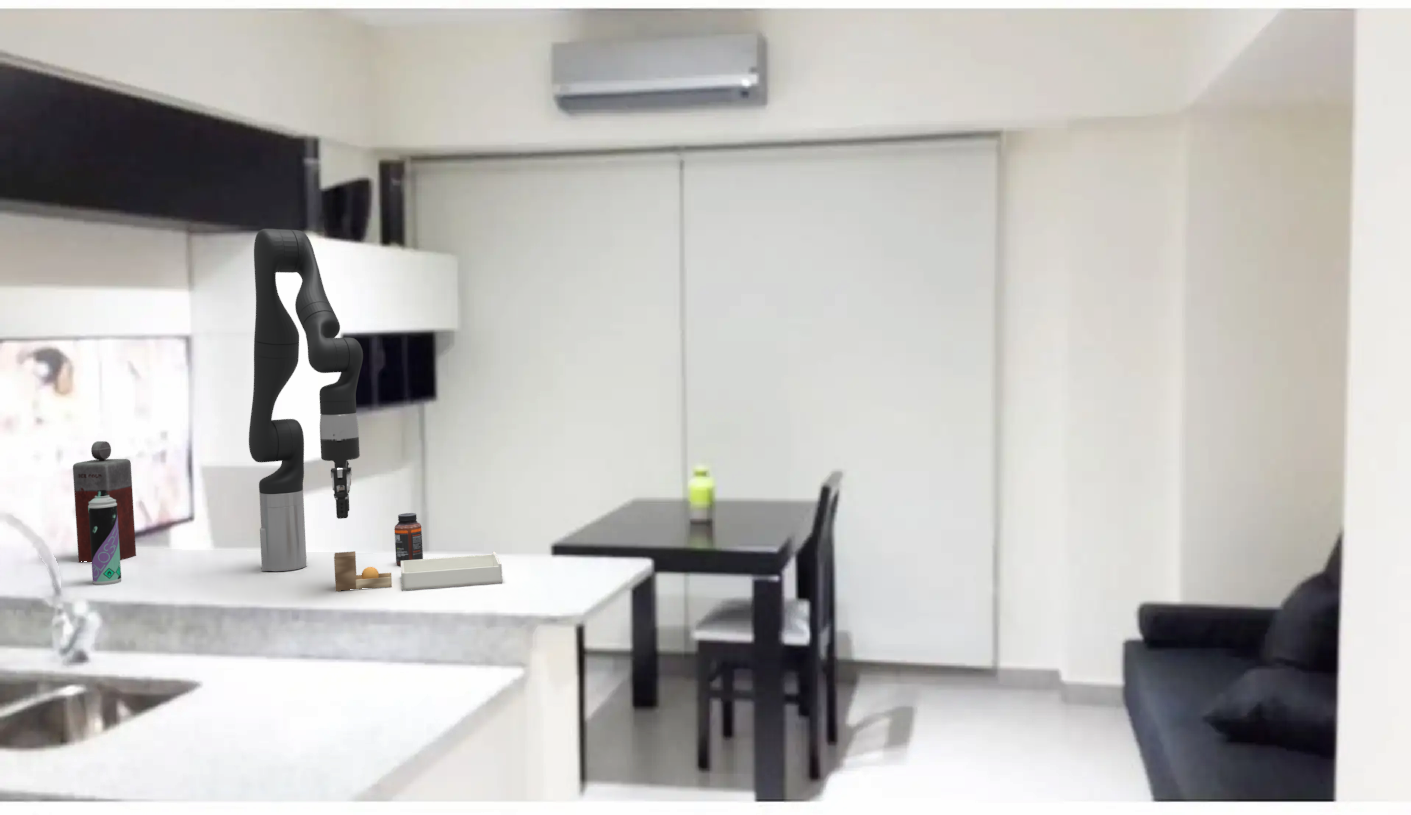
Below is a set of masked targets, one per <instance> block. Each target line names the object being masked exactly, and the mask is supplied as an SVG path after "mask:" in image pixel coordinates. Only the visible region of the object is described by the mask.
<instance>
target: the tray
mask: <svg viewBox="0 0 1411 815" xmlns="http://www.w3.org/2000/svg"><path fill="white" fill-rule="evenodd" d="M502 570H503V569H502V562H501V560H500V558H499V556H498V554H497V552H496V551H492V553H490V554H479V555H475V554H474V555H461V556H452V557H451V556H450V557H449V556H447V557H437V558H436V557H435V558H434V557H433V558H423V559H419V560H404V561H401V566H400V575H401V576H400V578H401V591H402V592H404V591H403V590H406V591H412V590H411V589H419V590H426V589H425V588H432V589H443V588H455V587H456V588H457V587H468V586H469V587H471V586H481V585H483V586H484V585H493V584H494V585H495V584H503V571H502Z"/></svg>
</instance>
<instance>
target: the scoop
mask: <svg viewBox="0 0 1411 815" xmlns="http://www.w3.org/2000/svg"><path fill="white" fill-rule="evenodd" d="M356 560H357V558H356V551H342V552H341V551H339V552H334V556H333V562H334V581H335V584H334V585H335V586H334V587H335V592H342V591H341V590H346V591H351V590H350V589H359V590H363V589H362V588H372V589H381V588H380V587H385V588H392V584H393V582H392V572H382V573H379V572H378V573H379V577H378V578H371V579H362V574H357V561H356Z"/></svg>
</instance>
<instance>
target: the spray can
mask: <svg viewBox="0 0 1411 815" xmlns="http://www.w3.org/2000/svg"><path fill="white" fill-rule="evenodd" d="M88 511H89V527H90V544H91V560H92V563H91V571H92V572H91V573H92V574H91V575H92V584H93V585H94V584H95V585H94V586H104V585H105V586H106V585H113V584H118V583H121V581H122V568H121V560H120V549H119V532H118V515H117V503H116V500H115V499H113V498H111V497H109V495H108V494H107V492H106V490H97V494H96V496H95V498H94V499H92V500H91V501H89V505H88Z"/></svg>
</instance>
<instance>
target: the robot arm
mask: <svg viewBox="0 0 1411 815" xmlns="http://www.w3.org/2000/svg"><path fill="white" fill-rule="evenodd" d="M253 261H254V262H253V265H254V266H253V267H254V268H253V269H254V281H255V282H254V283H255V323H254V340H253V391H252V392H253V393H252V404H251V412H250V419H249V420H250V422H249V427H248V428H249V429H248V430H249V431H248V449H249V453H250V456H251V458H252V459H253V460H254V461H255V462H256V463H273V462H274V463H275V462H281V464H280V466H279V467H278V469H277V470H276V471H274V472H272V473H271V474H269V475H267V476H264V477H263V478H262V479H260V480H259V482H258V492H259V512H260V513H259V514H260V515H259V516H260V528H259V537H260V540H259V541H260V558H261V572H283V571H284V572H287V571H293V570H300V569H303V568H305V567H307V566H308V565H307V546H306V543H307V542H306V526H305V522H306V521H305V502H304V499H305V498H304V477H305V465H304V464H305V456H304V455H305V454H304V453H305V440H304V438H305V437H304V431H303V428H302V425H301V423H300V421H298V420H297V419H295V418H283V419H282V418H281V419H272V418H273V412H274V408H275V404H276V402H277V400H278V397H279V395H280V394H281V393H282V390H283V389H284V388H285V386H286V385H287V383H288V382H289V380H290V379H291V377H292V376H293V374H294V372H295V371H296V369H297V367H298V364H299V357H300V355H299V354H300V334H299V329H298V327H297V325H296V324H295V323H296V322H295V321H294V319H293V318H292V317H291V315H290V313H289V312H288V311H287V308H286V307H285V306H284V304H283V301H282V299H281V298H280V295H279V293H278V288H277V278H276V274H277V273H287V274H289V273H291V274H292V273H293V274H294V273H297V274H298V275H299V276H300V277H301V285H300V288H299V289H298V292H297V295H296V299H295V305H294V306H295V314H296V315H297V318H298V320H299V323H300V326H301V327H302V329H303V331H304V333H305V338H306V345H307V346H306V347H307V359H308V364H309V365H310V367H311V368H312V369H313V370H314V371H316V372H317V373H320V374H329V373H333V374H334V373H340V375H339V377H338V379H337V380H336V382H333V383H330V384H327V385H324V386H322V387H321V388H320V389H319V411H320V412H319V414H320V415H319V416H320V418H319V419H320V420H319V437H320V438H319V441H320V457H321V460H322V461H326V462H334V468H333V467H331V469H330V478H331V488H332V490H333V491H334V493H333V497H334V500H335V511H336V512H335V513H336V519H338V520H339V519H340V520H341V519H347V518H348V517H349V512H350V496H349V495H350V492H351V486H352V473H353V472H352V467H351V466H350V463H349V461H353V460H357V459H359V457H361V456H360V455H361V454H360V433H359V421H358V416H357V400H356V398H357V396H356V393H357V386H358V382H359V377H360V373H361V369H362V364H363V360H364V353H363V352H364V351H363V348H362V346H361V343H360V342H359V341H358V340H357V339H355V338H354V337H337V336H338V335H339V333H340V331H341V330H340V329H341V325H340V322H339V319H338V317H337V315H336V313H335V311H334V309H333V306H332V305H331V302H330V301H329V299H328V296H327V294H326V291H325V287H324V284H323V281H322V276H321V271H320V268H319V265H318V260H317V258H316V254H315V251H314V247H313V246H312V242H311V240H310V238H309V236H308V234H306V233H305V232H304V231H301V230H299V229H298V230H297V229H281V228H280V229H279V228H278V229H277V228H262V229H260V230H259V231H258V232H257V233H256V236H255V239H254V244H253Z"/></svg>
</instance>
